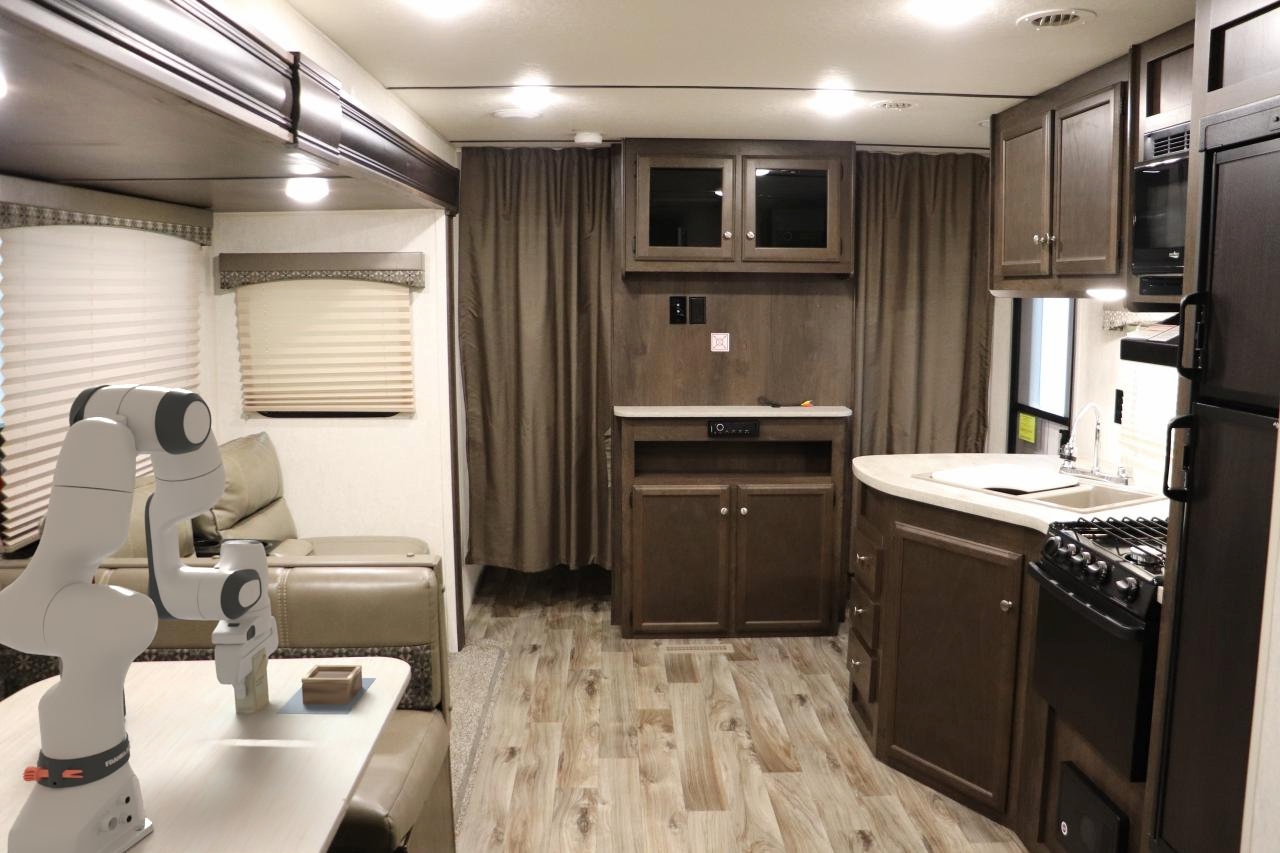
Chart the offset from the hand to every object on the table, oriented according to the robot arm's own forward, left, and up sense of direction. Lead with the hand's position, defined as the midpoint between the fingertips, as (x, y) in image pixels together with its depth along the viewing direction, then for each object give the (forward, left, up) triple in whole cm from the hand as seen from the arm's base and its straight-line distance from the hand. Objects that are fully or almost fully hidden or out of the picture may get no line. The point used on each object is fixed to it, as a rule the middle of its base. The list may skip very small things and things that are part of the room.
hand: (251, 688), depth 196 cm
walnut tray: (+6, -14, -4) cm, 16 cm away
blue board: (+6, -13, -5) cm, 15 cm away
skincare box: (0, 0, -5) cm, 5 cm away
